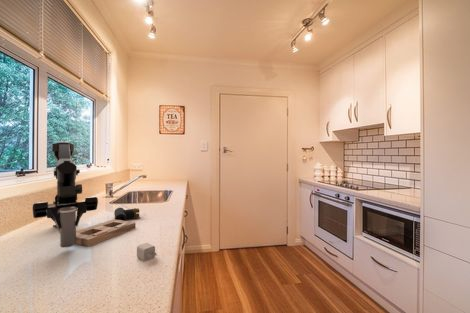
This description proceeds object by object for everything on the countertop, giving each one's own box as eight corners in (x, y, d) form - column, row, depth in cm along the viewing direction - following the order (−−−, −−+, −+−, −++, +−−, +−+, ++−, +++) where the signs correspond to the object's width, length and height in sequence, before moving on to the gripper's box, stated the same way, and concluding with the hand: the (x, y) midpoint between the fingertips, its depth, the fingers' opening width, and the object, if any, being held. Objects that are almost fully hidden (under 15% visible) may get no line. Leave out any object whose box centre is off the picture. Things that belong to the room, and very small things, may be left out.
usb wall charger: (148, 253, 76) (148, 242, 76) (159, 259, 72) (159, 247, 72) (136, 258, 73) (136, 245, 73) (148, 264, 69) (148, 251, 69)
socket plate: (63, 240, 88) (63, 233, 88) (113, 224, 108) (113, 218, 108) (88, 246, 82) (88, 238, 82) (135, 227, 103) (135, 221, 103)
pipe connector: (137, 205, 126) (140, 211, 113) (137, 214, 126) (140, 221, 113) (114, 207, 121) (114, 214, 108) (114, 217, 121) (115, 225, 108)
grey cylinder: (57, 246, 78) (56, 208, 77) (71, 241, 82) (70, 205, 82) (65, 248, 76) (65, 210, 76) (79, 243, 80) (79, 207, 80)
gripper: (32, 179, 76) (30, 219, 67) (97, 175, 87) (101, 209, 79) (34, 198, 82) (32, 237, 73) (94, 193, 94) (98, 226, 85)
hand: (68, 227), depth 78 cm, fingers closed on grey cylinder, 4 cm apart
